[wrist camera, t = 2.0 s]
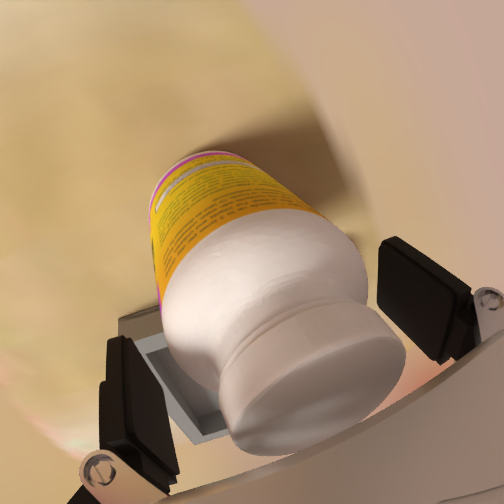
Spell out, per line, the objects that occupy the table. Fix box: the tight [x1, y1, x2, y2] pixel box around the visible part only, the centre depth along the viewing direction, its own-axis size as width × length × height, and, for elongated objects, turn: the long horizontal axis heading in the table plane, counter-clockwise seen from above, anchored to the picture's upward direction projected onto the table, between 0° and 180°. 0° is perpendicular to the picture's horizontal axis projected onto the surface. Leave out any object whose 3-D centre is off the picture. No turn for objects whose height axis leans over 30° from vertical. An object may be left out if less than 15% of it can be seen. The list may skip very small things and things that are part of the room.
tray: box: [118, 305, 230, 445], centre depth 23 cm, size 14×14×2 cm
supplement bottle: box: [149, 151, 406, 456], centre depth 12 cm, size 7×7×13 cm
